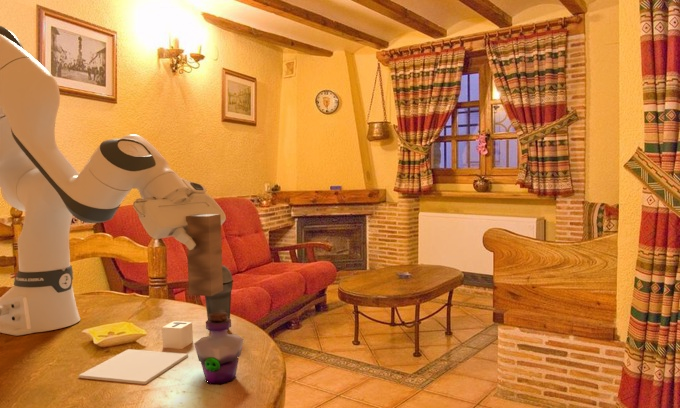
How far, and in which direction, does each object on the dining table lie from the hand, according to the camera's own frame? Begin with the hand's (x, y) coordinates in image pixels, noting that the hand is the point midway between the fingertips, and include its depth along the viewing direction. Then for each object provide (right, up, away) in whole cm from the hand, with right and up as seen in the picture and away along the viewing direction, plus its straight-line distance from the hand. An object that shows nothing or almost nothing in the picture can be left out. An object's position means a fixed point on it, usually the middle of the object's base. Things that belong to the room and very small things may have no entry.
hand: (206, 245), depth 104 cm
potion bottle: (+6, -23, -12) cm, 27 cm away
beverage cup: (-1, -22, +16) cm, 27 cm away
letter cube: (-8, -22, +7) cm, 25 cm away
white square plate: (-12, -23, -5) cm, 27 cm away
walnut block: (0, -10, +1) cm, 10 cm away
